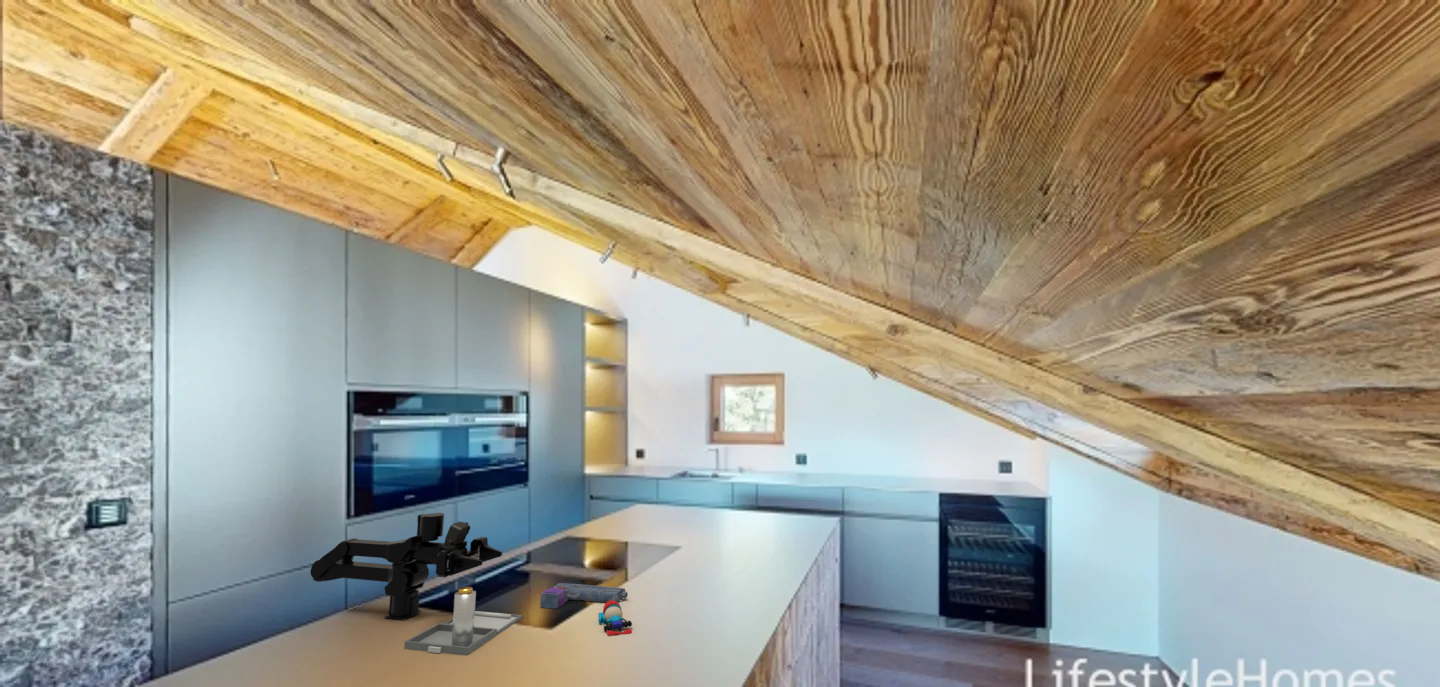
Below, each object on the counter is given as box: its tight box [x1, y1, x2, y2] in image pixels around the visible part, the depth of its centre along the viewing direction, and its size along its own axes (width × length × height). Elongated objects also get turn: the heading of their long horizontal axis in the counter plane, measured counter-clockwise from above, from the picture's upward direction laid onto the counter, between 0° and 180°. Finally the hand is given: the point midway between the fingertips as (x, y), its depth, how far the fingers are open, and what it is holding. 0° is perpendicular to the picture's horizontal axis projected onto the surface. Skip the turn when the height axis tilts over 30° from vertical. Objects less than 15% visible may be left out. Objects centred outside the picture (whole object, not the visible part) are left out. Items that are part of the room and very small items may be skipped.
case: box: [403, 622, 498, 656], centre depth 141 cm, size 16×13×2 cm
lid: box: [443, 610, 523, 636], centre depth 153 cm, size 16×13×2 cm
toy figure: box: [597, 600, 633, 637], centre depth 157 cm, size 8×5×15 cm
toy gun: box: [539, 582, 628, 609], centre depth 174 cm, size 4×23×15 cm
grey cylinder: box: [451, 586, 477, 647], centre depth 139 cm, size 5×5×13 cm
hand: (492, 558), depth 157 cm, fingers open, 9 cm apart
